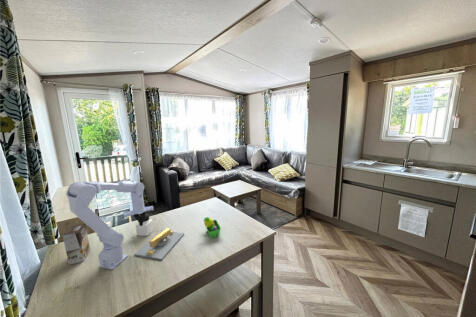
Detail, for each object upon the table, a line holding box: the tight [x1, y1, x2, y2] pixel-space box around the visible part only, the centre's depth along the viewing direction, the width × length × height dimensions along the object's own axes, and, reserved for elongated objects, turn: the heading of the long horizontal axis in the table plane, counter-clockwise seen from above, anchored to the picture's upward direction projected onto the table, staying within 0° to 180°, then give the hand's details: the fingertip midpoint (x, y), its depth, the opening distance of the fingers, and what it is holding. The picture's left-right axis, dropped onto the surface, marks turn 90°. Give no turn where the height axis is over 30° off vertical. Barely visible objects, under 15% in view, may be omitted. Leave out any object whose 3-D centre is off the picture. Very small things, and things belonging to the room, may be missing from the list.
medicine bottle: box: [135, 212, 155, 237], centre depth 117 cm, size 7×7×12 cm
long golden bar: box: [148, 227, 172, 248], centre depth 105 cm, size 7×13×4 cm, turn 157°
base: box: [134, 230, 185, 261], centre depth 106 cm, size 22×16×2 cm
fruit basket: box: [203, 216, 222, 238], centre depth 115 cm, size 11×9×11 cm
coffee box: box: [62, 223, 91, 265], centre depth 96 cm, size 9×6×16 cm
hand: (141, 225), depth 107 cm, fingers closed
